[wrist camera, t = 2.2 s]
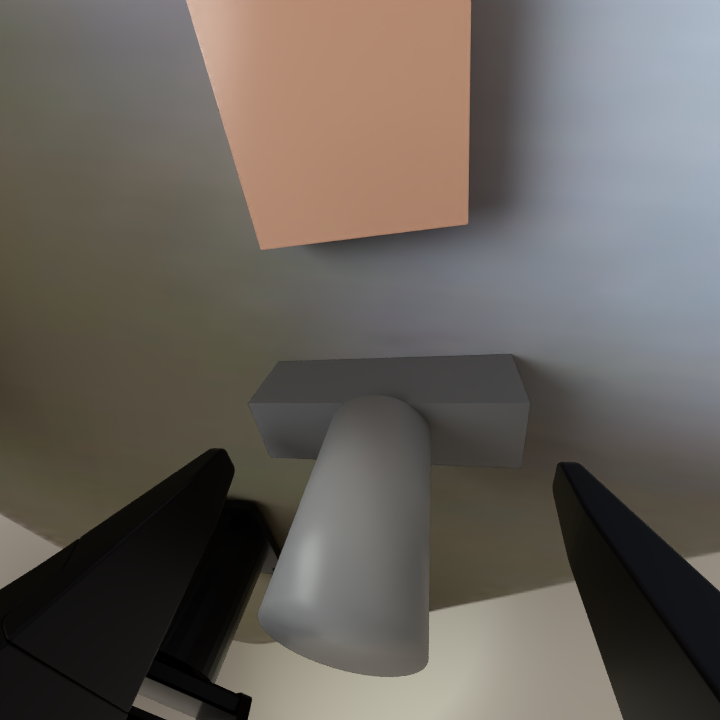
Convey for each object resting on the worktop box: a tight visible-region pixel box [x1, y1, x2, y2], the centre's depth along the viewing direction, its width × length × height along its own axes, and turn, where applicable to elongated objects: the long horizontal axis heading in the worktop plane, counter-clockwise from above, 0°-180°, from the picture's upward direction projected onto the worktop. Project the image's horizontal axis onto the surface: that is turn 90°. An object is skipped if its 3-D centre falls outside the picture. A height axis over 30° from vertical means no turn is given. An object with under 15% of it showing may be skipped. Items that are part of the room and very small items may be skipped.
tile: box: [186, 0, 471, 250], centre depth 7 cm, size 5×5×2 cm
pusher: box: [248, 354, 530, 677], centre depth 9 cm, size 3×8×8 cm, turn 99°
